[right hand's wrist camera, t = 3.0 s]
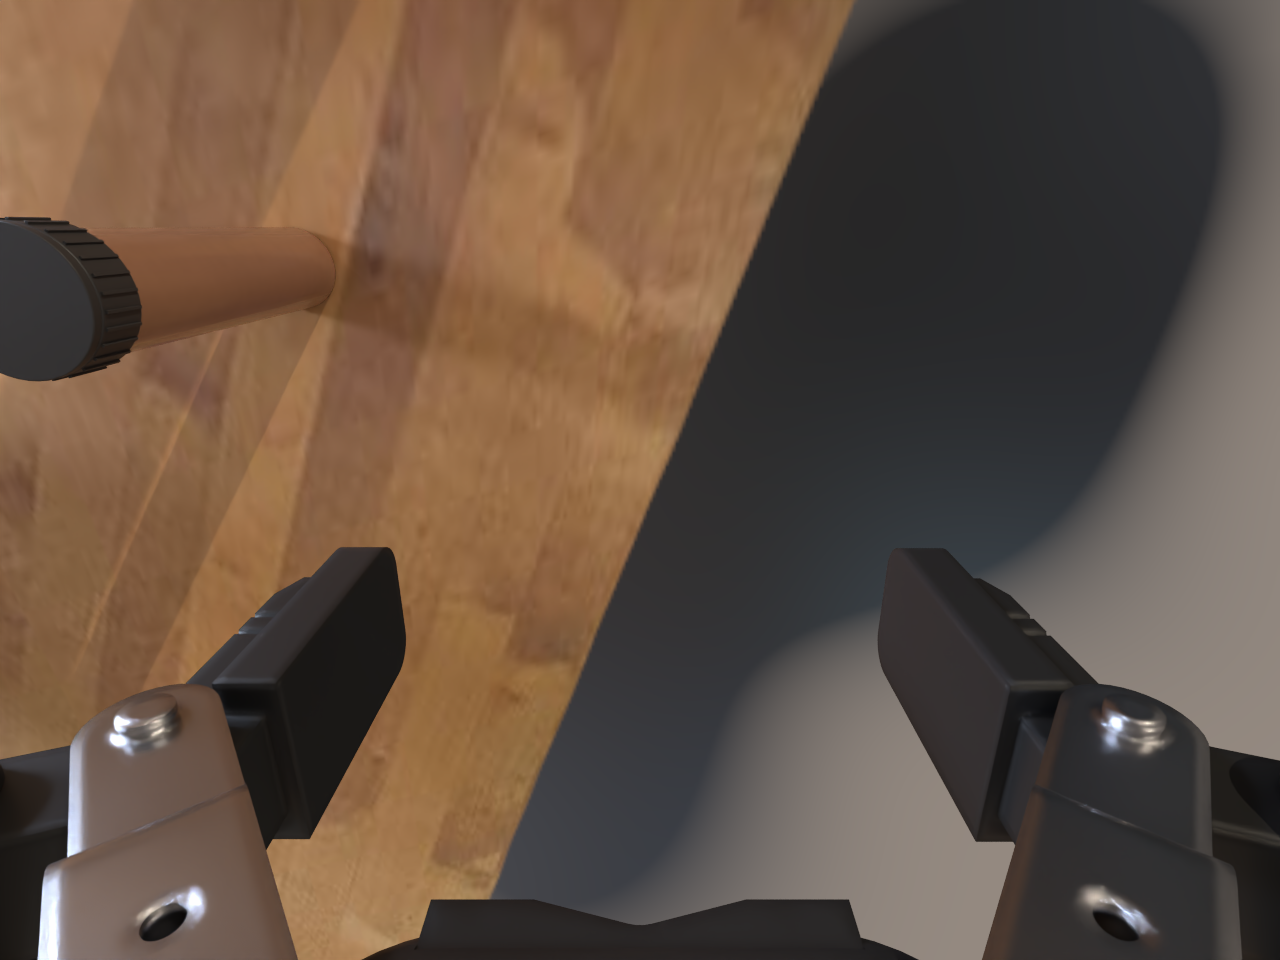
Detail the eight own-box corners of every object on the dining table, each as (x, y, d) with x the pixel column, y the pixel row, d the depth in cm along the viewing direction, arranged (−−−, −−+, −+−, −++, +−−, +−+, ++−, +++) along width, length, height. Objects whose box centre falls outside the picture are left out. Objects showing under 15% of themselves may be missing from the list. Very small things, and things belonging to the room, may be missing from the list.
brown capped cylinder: (285, 209, 36) (-10, 196, 20) (351, 267, 37) (123, 300, 21) (241, 269, 37) (-73, 304, 21) (306, 324, 38) (55, 398, 22)
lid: (35, 182, 21) (-29, 178, 19) (173, 294, 22) (126, 301, 20) (-35, 298, 23) (-102, 305, 20) (100, 398, 24) (49, 415, 22)
